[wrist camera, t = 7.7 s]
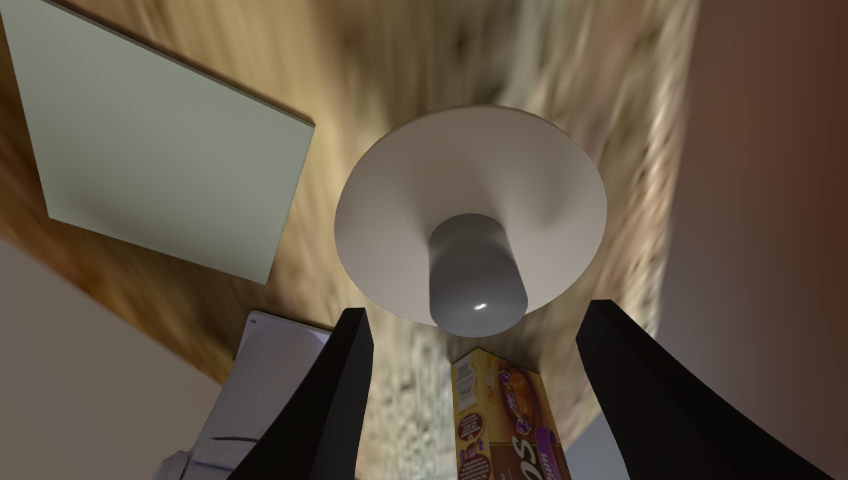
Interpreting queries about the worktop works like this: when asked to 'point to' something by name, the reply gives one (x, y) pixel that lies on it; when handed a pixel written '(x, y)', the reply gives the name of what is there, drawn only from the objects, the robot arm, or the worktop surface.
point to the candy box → (503, 422)
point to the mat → (152, 143)
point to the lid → (470, 218)
